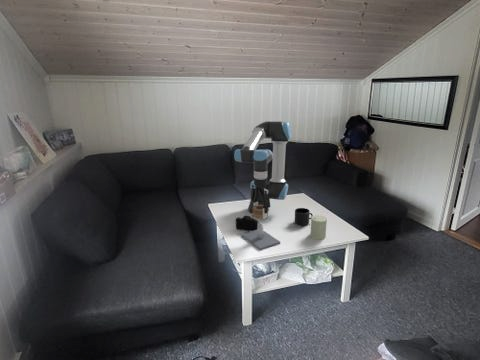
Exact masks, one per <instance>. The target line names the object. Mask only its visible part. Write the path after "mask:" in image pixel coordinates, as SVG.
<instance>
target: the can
mask: <svg viewBox="0 0 480 360" xmlns="http://www.w3.org/2000/svg"><path fill="white" fill-rule="evenodd" d="M310 218H311V219H310V234H309V236H310V237H311V238H312V239H315V240H324V239H325V238H327V236H326V235H327V223H328V222H327V221H328V218H327V217H325V216H323V215H318V214H317V215H316V214H315V215H313V216H312V217H310Z"/></svg>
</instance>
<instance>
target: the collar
mask: <svg viewBox="0 0 480 360" xmlns="http://www.w3.org/2000/svg"><path fill="white" fill-rule="evenodd" d="M268 216H269V212H268V213H267V217H268ZM252 218H254V219H261V220H264V219H263V205H256V206H254V207H253V214H252Z"/></svg>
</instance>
